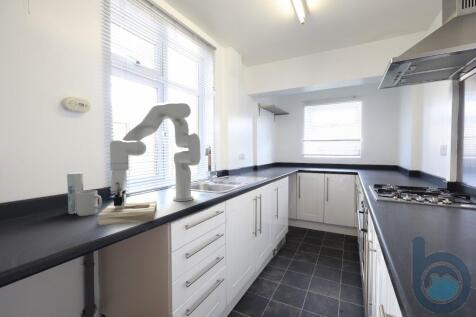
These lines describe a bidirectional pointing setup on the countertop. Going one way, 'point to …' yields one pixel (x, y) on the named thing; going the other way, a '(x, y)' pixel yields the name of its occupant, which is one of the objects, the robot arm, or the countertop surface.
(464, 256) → the countertop surface
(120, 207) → the peg
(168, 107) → the robot arm
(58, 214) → the countertop surface
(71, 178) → the tall grey container
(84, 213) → the mug
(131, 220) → the keyhole plate
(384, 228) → the countertop surface
